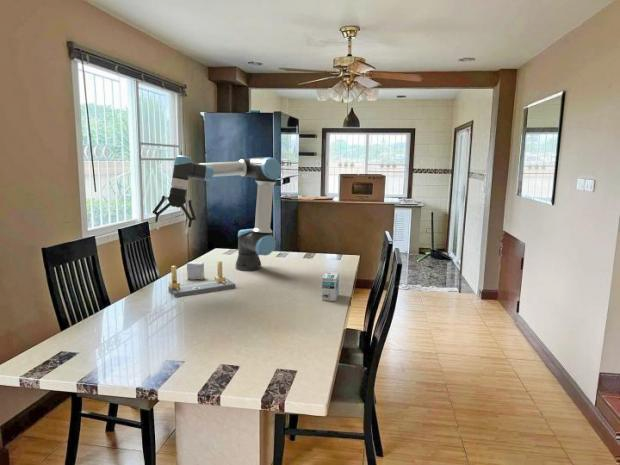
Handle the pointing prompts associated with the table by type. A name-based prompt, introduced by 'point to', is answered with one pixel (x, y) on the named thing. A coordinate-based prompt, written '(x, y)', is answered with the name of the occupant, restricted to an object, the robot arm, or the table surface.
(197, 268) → the medicine box
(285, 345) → the table surface
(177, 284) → the gold piece
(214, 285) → the grey lever plate
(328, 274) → the light bulb box
